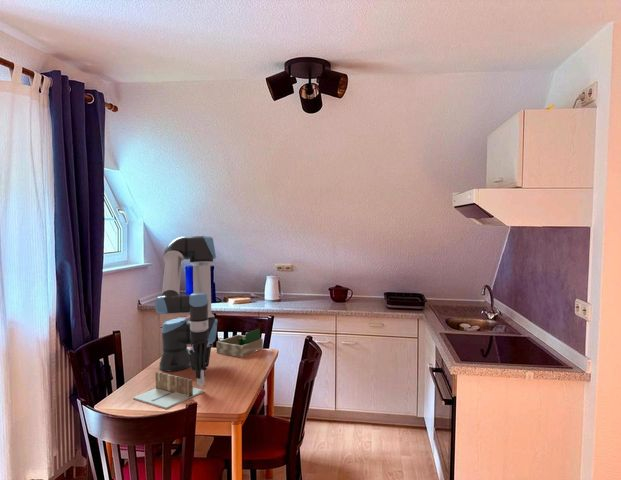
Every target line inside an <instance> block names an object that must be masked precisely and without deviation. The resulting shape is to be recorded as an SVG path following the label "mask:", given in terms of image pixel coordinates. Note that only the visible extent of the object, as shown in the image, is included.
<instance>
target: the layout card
mask: <svg viewBox="0 0 621 480" xmlns="http://www.w3.org/2000/svg"><path fill="white" fill-rule="evenodd" d="M204 392H205V390H204V389H202V388H201V389H200V388H197V387H194V386H193V396H191V397H189V396H186V395H183V394H179V393H176V392H175V393H171V391H168V390H165V389H161V388H158V389H156V387H155V388H153V389H150V390H148V391H145V392H143V393H141V394H138V395H136V396H132V400H136V401H138V402H143V403H145V404H148V405H152V406H155V407H159V408H161V409H164V410H168V409H169V408H172V407H174V406H177V405H179V404H181V403H183V402H185V401H187V400H189V398H190V399H191V398H194V397H196V396H198V395H201V394H202V393H204Z"/></svg>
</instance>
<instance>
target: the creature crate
mask: <svg viewBox="0 0 621 480" xmlns="http://www.w3.org/2000/svg"><path fill="white" fill-rule="evenodd" d="M245 337H246V335H242V334H236V335H233V336H230V337H227V338H225V339H224V338H223V339H221V340H219V341H216V353H217V354H220V353H222V354H221V355H225V354H227V355H226V356H231V355H232V356H231V357H236V356H237V357H236V358H241V357H242V358H244V356H245V357H246V356H249V354H250V355H252V354H254V353H253V352H255V351H256V350H259V351H261V350H260V349H262V350H264V343H263V342H264V338H262V337H260V339H258V340H255V341H253V342H250V343H247V344H245V345H242V346H240V345H239V339H240V338H241V339H243V338H245ZM251 353H252V354H251ZM255 353H256V352H255Z"/></svg>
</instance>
